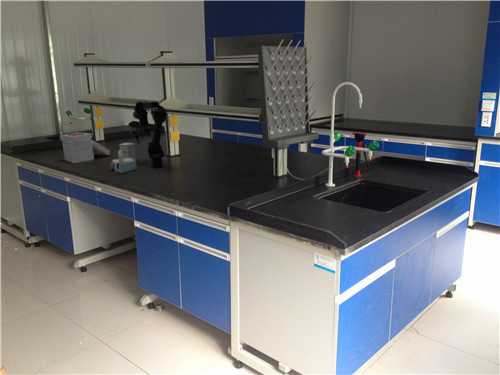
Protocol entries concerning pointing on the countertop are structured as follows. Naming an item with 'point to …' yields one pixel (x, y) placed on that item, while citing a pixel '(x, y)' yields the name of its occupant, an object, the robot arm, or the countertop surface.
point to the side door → (125, 164)
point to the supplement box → (128, 150)
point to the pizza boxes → (80, 147)
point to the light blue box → (115, 163)
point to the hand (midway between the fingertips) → (145, 143)
